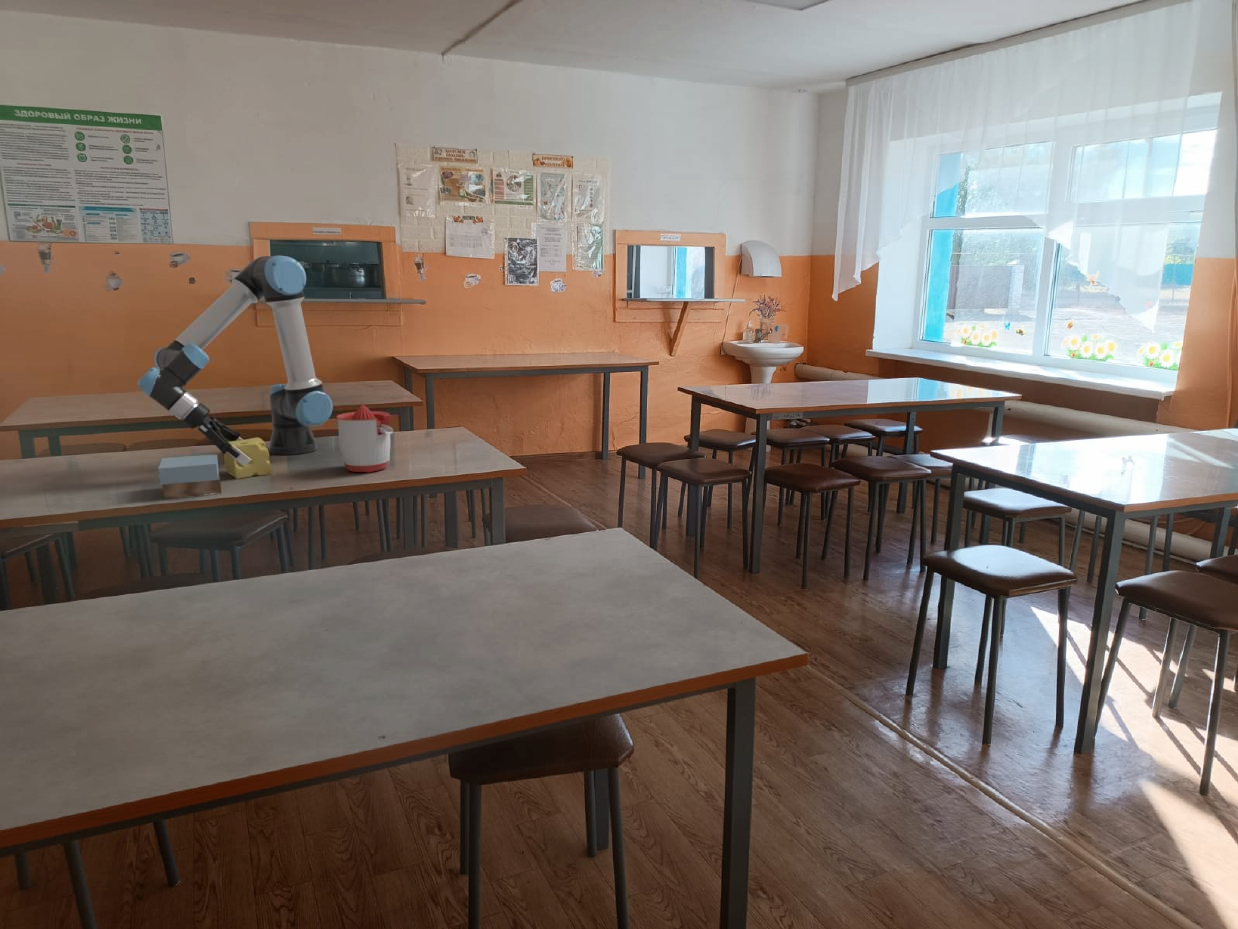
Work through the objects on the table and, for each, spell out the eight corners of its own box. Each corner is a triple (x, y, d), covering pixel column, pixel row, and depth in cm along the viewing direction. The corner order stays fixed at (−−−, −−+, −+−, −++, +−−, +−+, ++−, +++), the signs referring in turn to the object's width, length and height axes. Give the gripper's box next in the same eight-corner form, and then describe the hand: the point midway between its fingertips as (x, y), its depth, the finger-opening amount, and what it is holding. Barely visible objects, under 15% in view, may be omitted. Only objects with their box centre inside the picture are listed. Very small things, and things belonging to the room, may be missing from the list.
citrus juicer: (377, 477, 252) (373, 410, 248) (329, 472, 258) (324, 407, 253) (407, 466, 266) (404, 403, 262) (361, 461, 272) (357, 400, 268)
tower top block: (218, 469, 244) (216, 453, 243) (218, 479, 232) (216, 463, 231) (164, 473, 239) (162, 458, 238) (160, 484, 226) (158, 468, 225)
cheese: (272, 474, 255) (269, 442, 253) (234, 479, 249) (230, 446, 246) (262, 468, 263) (259, 436, 261) (225, 473, 257) (221, 441, 254)
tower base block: (219, 484, 246) (218, 469, 245) (221, 495, 233) (220, 479, 232) (165, 489, 239) (163, 474, 238) (164, 501, 227) (162, 485, 226)
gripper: (189, 414, 259) (247, 459, 267) (172, 428, 236) (236, 476, 243) (207, 396, 259) (264, 441, 267) (191, 408, 236) (254, 457, 244)
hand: (251, 458), depth 255 cm, fingers closed on cheese, 13 cm apart
